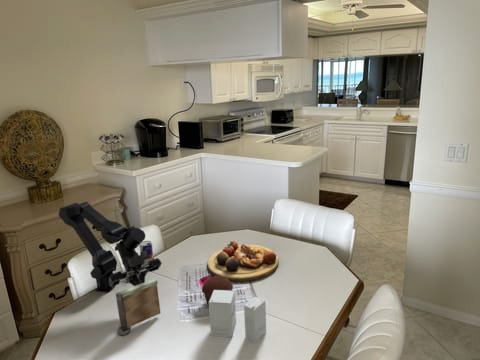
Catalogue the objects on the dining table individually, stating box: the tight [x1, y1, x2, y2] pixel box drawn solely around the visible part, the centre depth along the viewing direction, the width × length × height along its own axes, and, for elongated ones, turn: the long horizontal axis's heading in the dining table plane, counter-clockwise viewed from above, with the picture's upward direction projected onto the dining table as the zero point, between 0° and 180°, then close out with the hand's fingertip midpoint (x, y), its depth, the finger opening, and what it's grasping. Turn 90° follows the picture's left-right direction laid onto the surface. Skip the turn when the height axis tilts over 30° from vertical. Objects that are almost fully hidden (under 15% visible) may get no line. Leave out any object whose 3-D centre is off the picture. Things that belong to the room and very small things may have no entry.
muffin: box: [201, 275, 234, 308], centre depth 132 cm, size 12×11×10 cm
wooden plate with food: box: [207, 240, 279, 282], centre depth 161 cm, size 32×32×8 cm
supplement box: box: [208, 290, 237, 338], centre depth 118 cm, size 7×7×13 cm
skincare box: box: [243, 296, 267, 343], centre depth 114 cm, size 6×4×12 cm
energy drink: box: [139, 240, 155, 266], centre depth 161 cm, size 5×5×12 cm
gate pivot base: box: [116, 326, 132, 337], centre depth 120 cm, size 4×4×1 cm
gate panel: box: [115, 278, 161, 330], centre depth 122 cm, size 14×2×13 cm, turn 127°
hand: (144, 293), depth 129 cm, fingers closed
